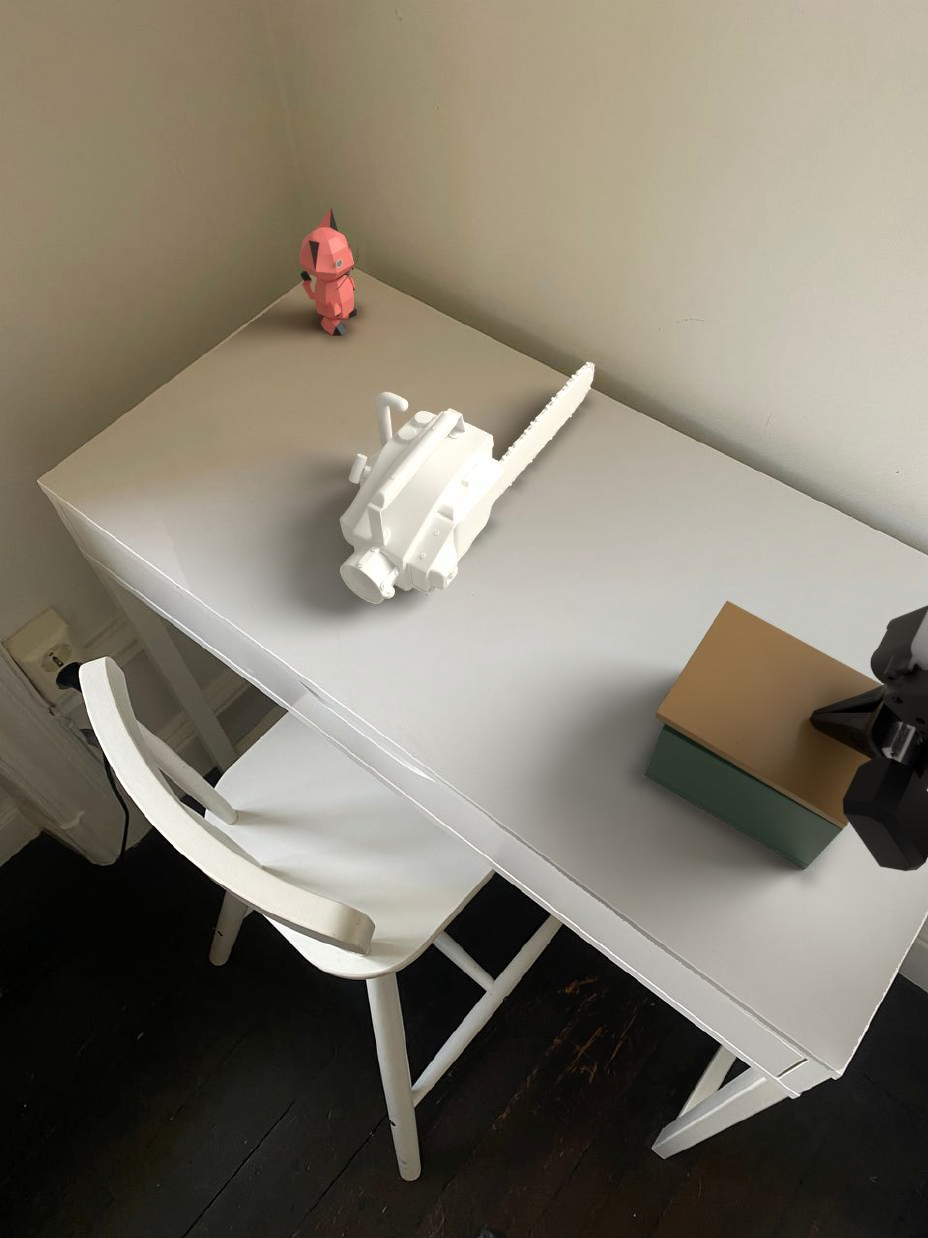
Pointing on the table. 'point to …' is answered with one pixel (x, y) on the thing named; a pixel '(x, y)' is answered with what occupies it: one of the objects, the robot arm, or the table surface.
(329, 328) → the cat figurine
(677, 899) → the table surface
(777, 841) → the green open box
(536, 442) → the chainsaw
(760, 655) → the lid
